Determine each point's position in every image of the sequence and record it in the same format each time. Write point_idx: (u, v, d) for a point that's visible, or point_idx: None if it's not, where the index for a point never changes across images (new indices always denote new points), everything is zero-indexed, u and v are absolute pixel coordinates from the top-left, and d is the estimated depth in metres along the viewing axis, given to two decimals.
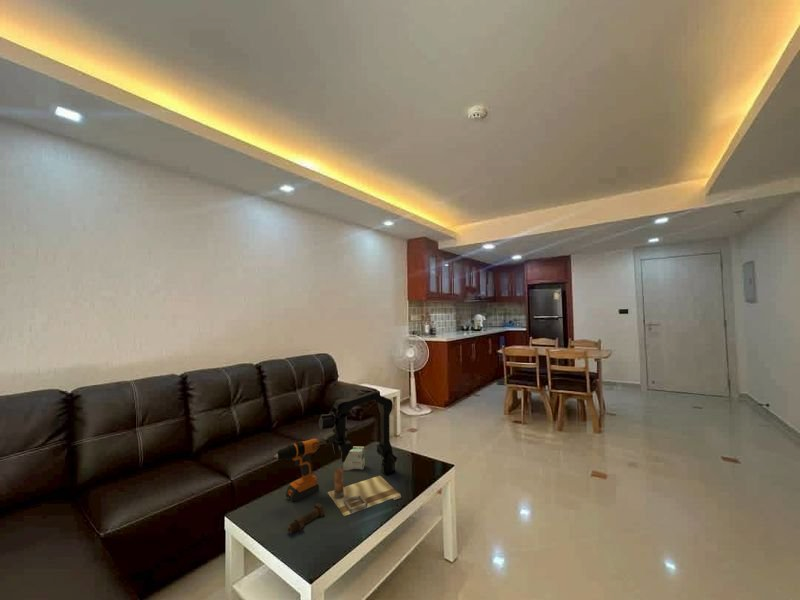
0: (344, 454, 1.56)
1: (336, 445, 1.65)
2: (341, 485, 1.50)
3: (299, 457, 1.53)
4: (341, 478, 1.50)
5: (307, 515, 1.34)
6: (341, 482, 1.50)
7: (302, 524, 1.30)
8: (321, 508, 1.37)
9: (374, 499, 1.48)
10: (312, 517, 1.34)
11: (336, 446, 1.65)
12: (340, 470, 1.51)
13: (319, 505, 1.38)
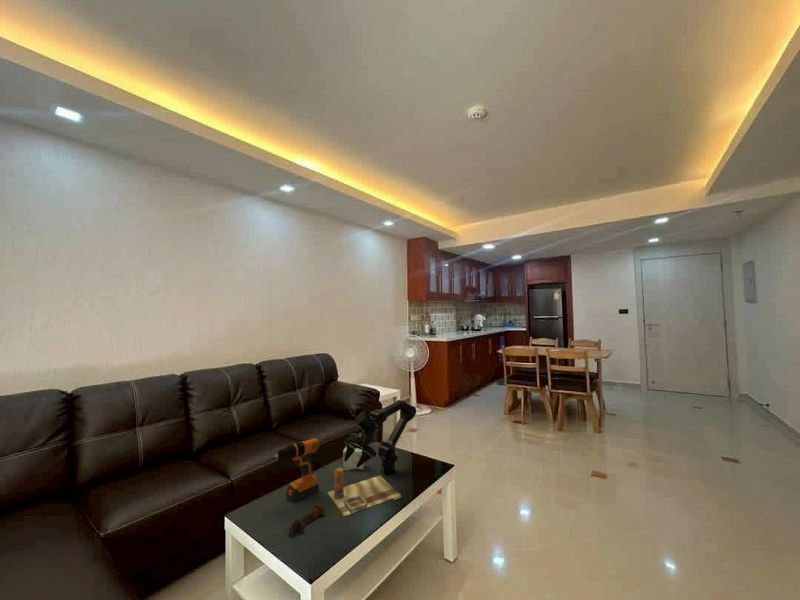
0: (363, 459, 1.55)
1: (349, 452, 1.62)
2: (341, 485, 1.50)
3: (299, 457, 1.53)
4: (341, 478, 1.50)
5: (308, 515, 1.34)
6: (341, 482, 1.50)
7: (303, 524, 1.30)
8: (321, 508, 1.37)
9: (374, 499, 1.48)
10: (313, 517, 1.34)
11: (349, 453, 1.62)
12: (340, 470, 1.51)
13: (319, 505, 1.38)
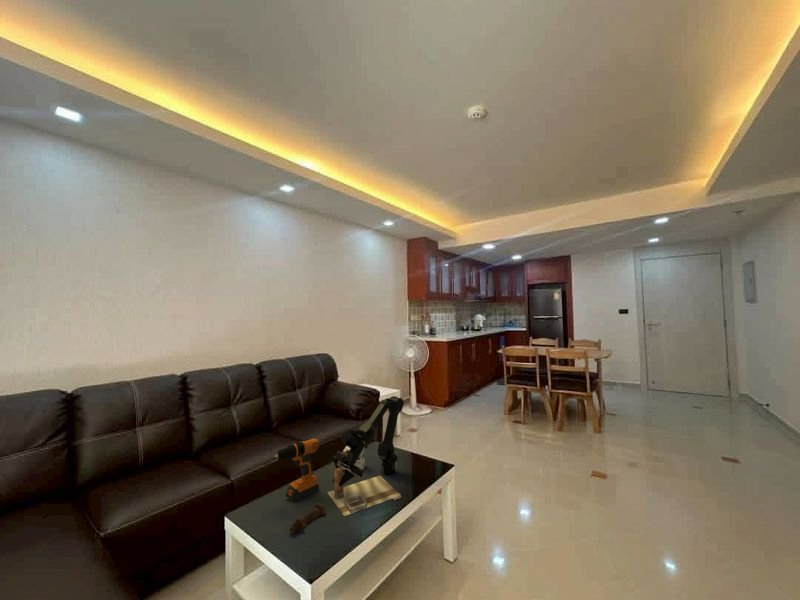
0: (345, 478, 1.50)
1: None
2: None
3: (299, 457, 1.53)
4: (341, 478, 1.50)
5: (308, 514, 1.34)
6: None
7: (304, 524, 1.30)
8: (322, 507, 1.38)
9: (374, 499, 1.48)
10: (313, 516, 1.35)
11: None
12: (340, 470, 1.51)
13: (320, 504, 1.39)
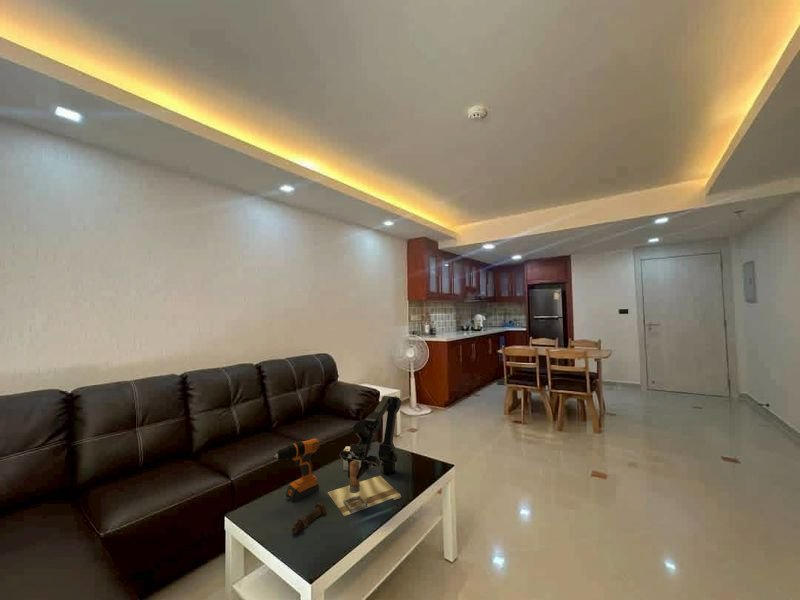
0: (362, 470, 1.44)
1: None
2: None
3: (299, 457, 1.53)
4: (358, 471, 1.44)
5: (310, 514, 1.34)
6: None
7: (306, 523, 1.30)
8: (323, 507, 1.38)
9: (374, 499, 1.48)
10: (315, 516, 1.35)
11: None
12: (356, 463, 1.44)
13: (321, 504, 1.39)
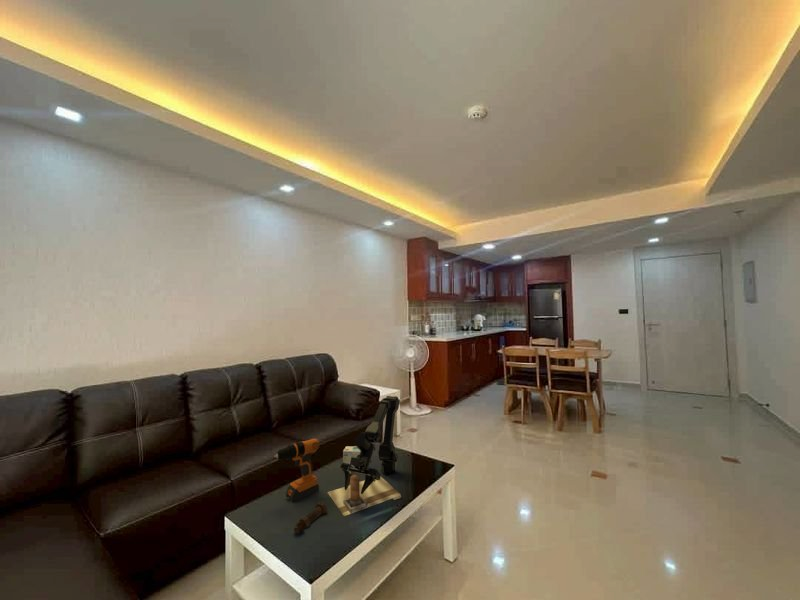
0: (367, 484, 1.43)
1: (349, 478, 1.48)
2: (358, 492, 1.43)
3: (299, 457, 1.53)
4: (358, 485, 1.44)
5: (311, 514, 1.34)
6: (358, 489, 1.43)
7: (308, 523, 1.30)
8: (324, 506, 1.39)
9: (374, 499, 1.48)
10: (316, 515, 1.35)
11: (348, 480, 1.47)
12: (356, 477, 1.44)
13: (321, 503, 1.39)
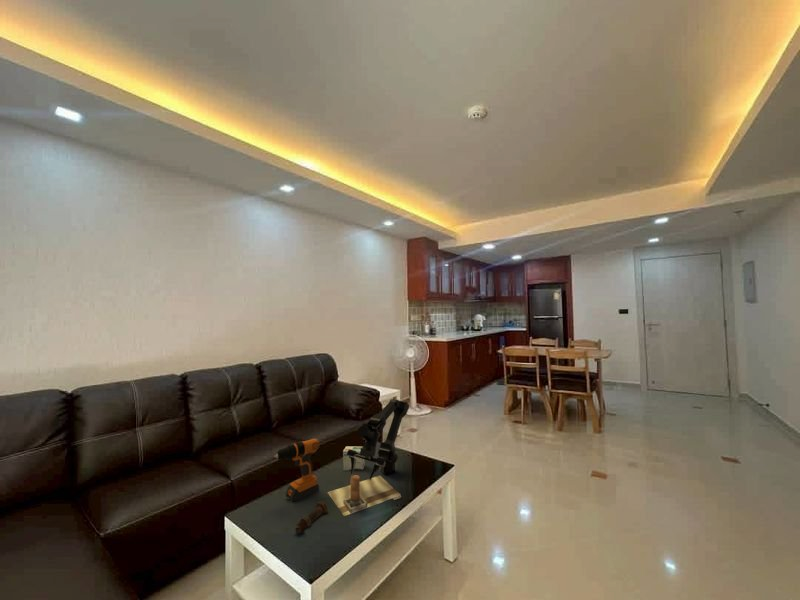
0: (374, 471, 1.55)
1: (354, 464, 1.58)
2: (358, 493, 1.43)
3: (299, 457, 1.53)
4: (358, 485, 1.43)
5: (312, 513, 1.35)
6: (358, 489, 1.43)
7: (309, 522, 1.31)
8: (324, 505, 1.39)
9: (374, 499, 1.48)
10: (317, 515, 1.36)
11: (354, 465, 1.57)
12: (357, 477, 1.44)
13: (322, 503, 1.40)
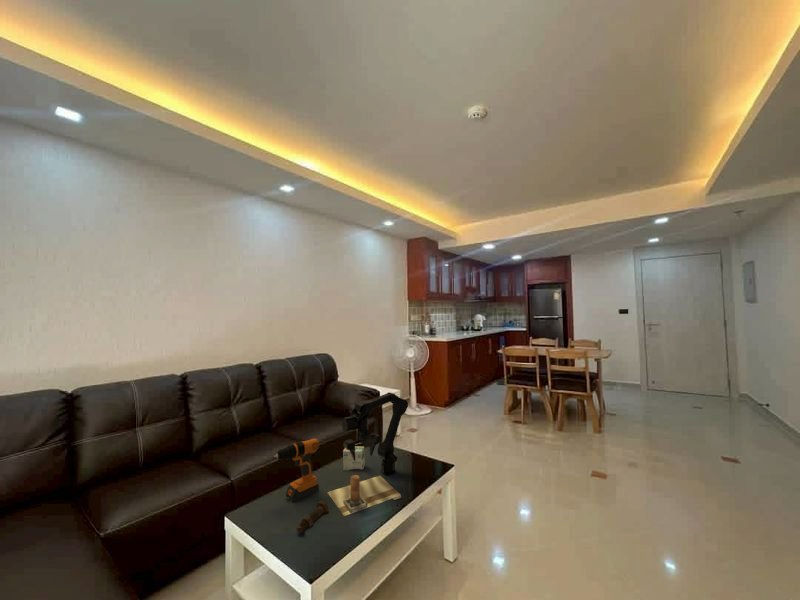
0: None
1: None
2: (358, 493, 1.43)
3: (299, 457, 1.53)
4: (358, 485, 1.43)
5: (313, 513, 1.35)
6: (358, 489, 1.43)
7: (311, 522, 1.31)
8: (325, 505, 1.39)
9: (374, 499, 1.48)
10: (318, 515, 1.36)
11: None
12: (357, 477, 1.44)
13: (323, 502, 1.40)
